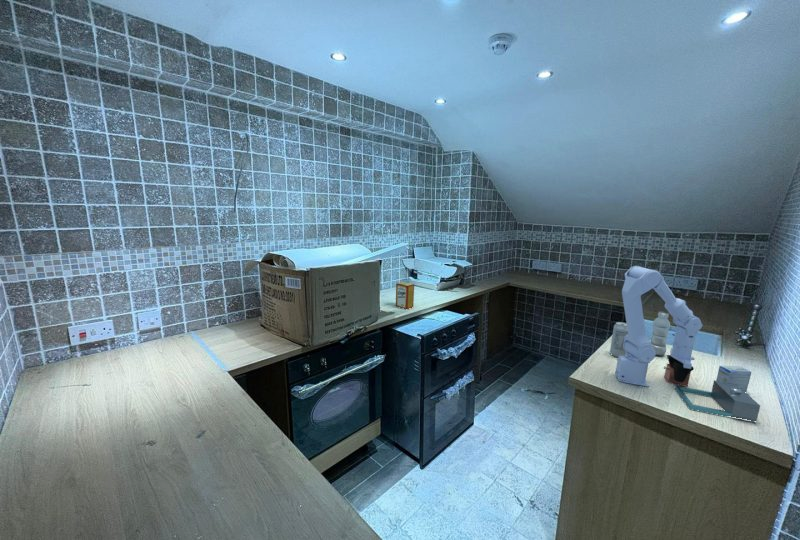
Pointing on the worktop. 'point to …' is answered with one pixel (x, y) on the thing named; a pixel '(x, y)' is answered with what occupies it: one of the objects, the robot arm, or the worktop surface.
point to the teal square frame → (724, 400)
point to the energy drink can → (618, 339)
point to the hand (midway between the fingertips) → (676, 377)
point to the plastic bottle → (660, 333)
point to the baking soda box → (404, 295)
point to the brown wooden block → (671, 376)
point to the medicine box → (734, 376)
